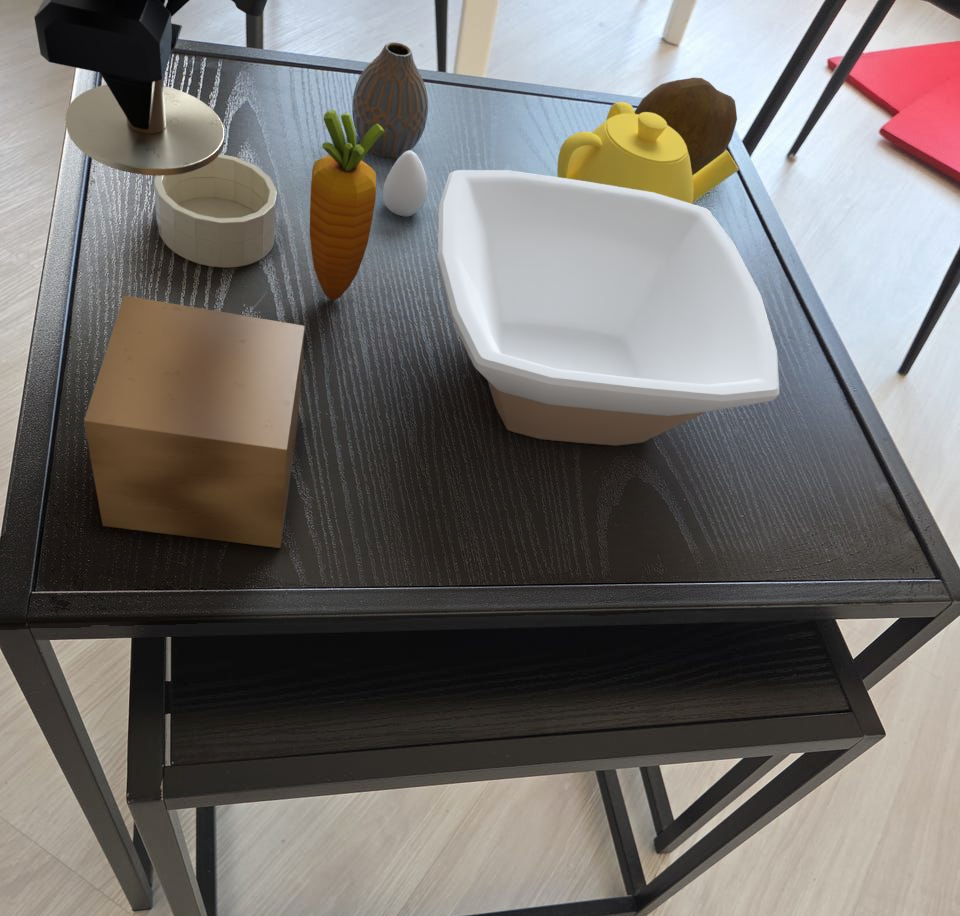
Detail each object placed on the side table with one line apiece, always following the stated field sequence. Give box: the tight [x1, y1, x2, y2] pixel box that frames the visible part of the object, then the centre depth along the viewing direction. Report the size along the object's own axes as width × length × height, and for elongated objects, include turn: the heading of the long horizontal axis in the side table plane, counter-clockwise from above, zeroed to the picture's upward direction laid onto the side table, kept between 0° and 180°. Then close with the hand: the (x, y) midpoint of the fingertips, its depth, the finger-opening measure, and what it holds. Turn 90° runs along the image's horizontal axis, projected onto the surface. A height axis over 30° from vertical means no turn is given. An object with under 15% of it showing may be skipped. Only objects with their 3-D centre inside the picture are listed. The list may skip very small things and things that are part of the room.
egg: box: [382, 150, 429, 217], centre depth 82 cm, size 4×4×6 cm
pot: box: [153, 153, 278, 269], centre depth 75 cm, size 9×9×4 cm
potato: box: [634, 77, 738, 175], centre depth 95 cm, size 8×12×9 cm
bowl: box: [437, 169, 780, 447], centre depth 71 cm, size 24×25×11 cm
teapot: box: [556, 101, 739, 204], centre depth 85 cm, size 14×14×11 cm
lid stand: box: [83, 294, 306, 549], centre depth 59 cm, size 11×11×9 cm
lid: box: [65, 77, 226, 177], centre depth 60 cm, size 10×10×4 cm
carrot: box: [309, 109, 384, 302], centre depth 69 cm, size 5×5×15 cm
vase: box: [351, 41, 429, 159], centre depth 86 cm, size 7×7×9 cm
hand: (145, 115), depth 61 cm, fingers closed on lid, 2 cm apart
